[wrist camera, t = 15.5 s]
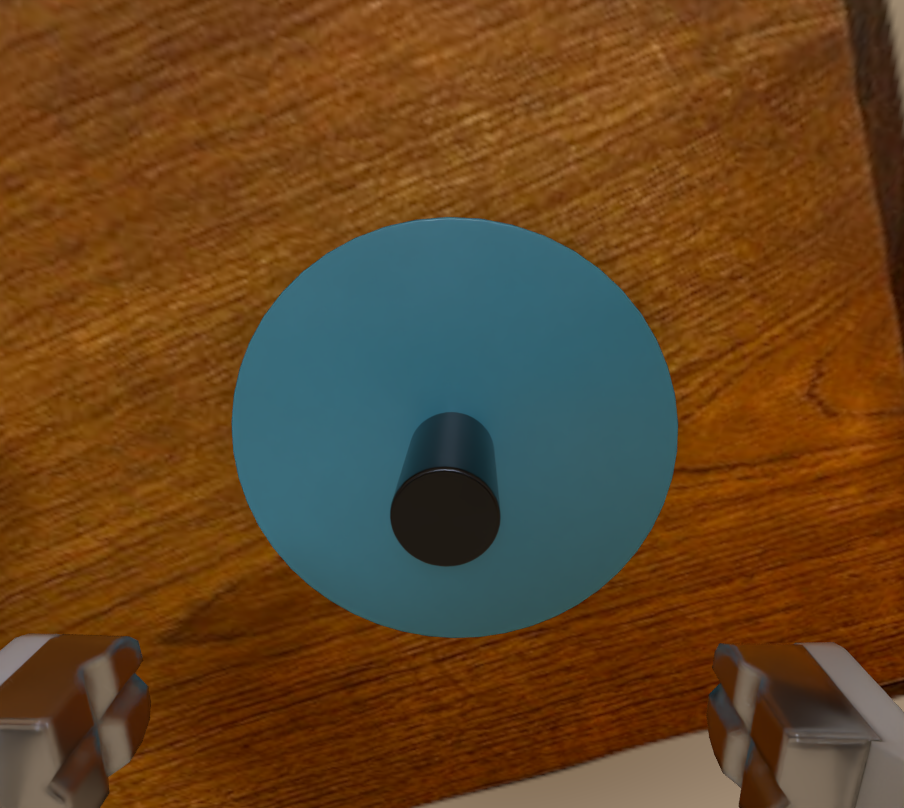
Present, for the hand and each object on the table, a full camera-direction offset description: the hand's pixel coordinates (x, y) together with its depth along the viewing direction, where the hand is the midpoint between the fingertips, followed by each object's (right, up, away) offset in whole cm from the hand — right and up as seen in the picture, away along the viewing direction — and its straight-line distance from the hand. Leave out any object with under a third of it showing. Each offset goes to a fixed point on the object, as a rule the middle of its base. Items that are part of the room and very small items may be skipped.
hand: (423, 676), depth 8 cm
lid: (0, +3, +8) cm, 9 cm away
